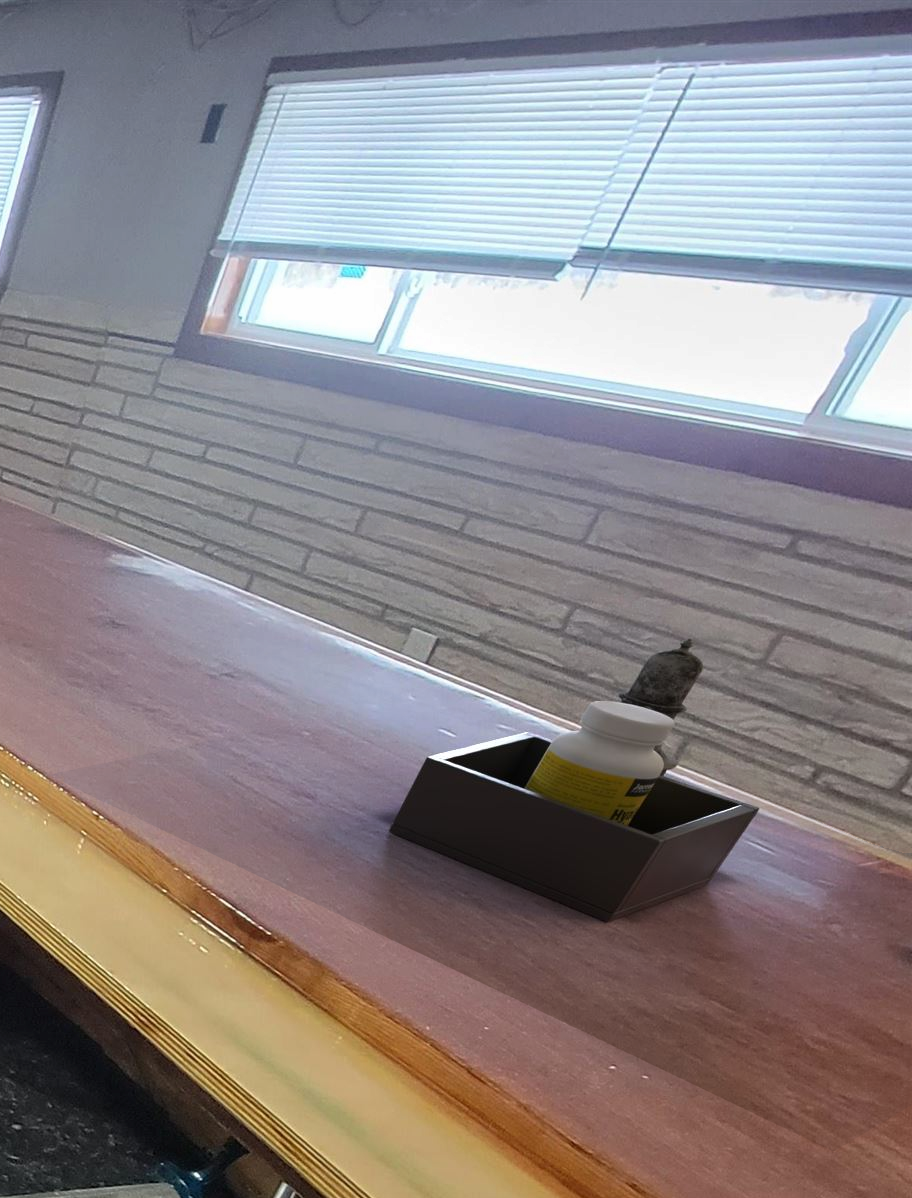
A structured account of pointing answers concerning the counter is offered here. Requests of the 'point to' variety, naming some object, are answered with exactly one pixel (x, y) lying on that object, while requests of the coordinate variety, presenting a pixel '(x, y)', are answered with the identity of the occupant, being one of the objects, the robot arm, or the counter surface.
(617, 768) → the supplement bottle
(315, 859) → the counter surface
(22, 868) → the counter surface
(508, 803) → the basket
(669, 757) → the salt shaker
